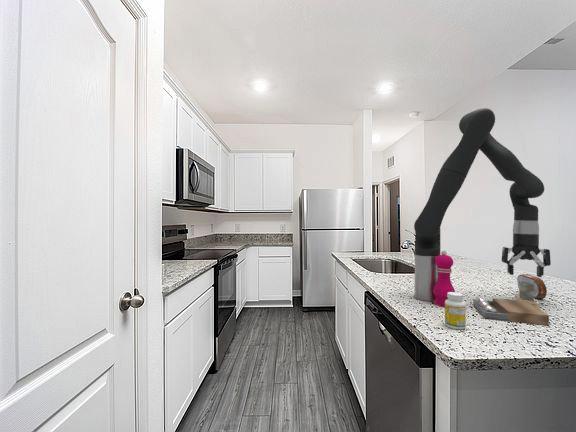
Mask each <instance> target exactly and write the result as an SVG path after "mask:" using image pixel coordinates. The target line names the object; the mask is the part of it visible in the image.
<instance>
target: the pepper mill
mask: <svg viewBox="0 0 576 432" xmlns="http://www.w3.org/2000/svg"><path fill="white" fill-rule="evenodd" d="M435 264H436V265H437V268H436V269H437V270H436V271H437V272H438V280H437V282H436V284H435V286H434V289H433V294H434V295H435V296H436V298H435V301H434V305H436V306H438V307H439V306H440V307H442V308H445V301H446V300H447V299H448V297H447V293H448V292H456V290H455V287H454V285H453V283H452V280H451V273H453V272H452V269H453V268H452V266H454V259H453V257H451V256H450V255H448V254H447V251H446V250H441V251H440V255H438V256H437V257H436V258H435Z"/></svg>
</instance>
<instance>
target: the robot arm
mask: <svg viewBox="0 0 576 432" xmlns="http://www.w3.org/2000/svg"><path fill="white" fill-rule="evenodd" d="M495 122H496V115H495V113H494V111H493V110H492V109H490V108H488V107H485V108H484V107H483V108H479V109H475V110H473V111H471V112H468V113H466V114H465V115H463V116H462V117H461V119H460V120H459V122H458V128H459V131H460V132H461V134H462V136H461V138H460V140H459V143H458V145H457V146H456V147H455V148H454V149H453V150H452V152H451V153H450V155H449V156H448V157H447V158H446V159H445V161H444V162H443V164H442V165H441V168H440V170H438V171H439V172H438V173H437V176H436V178H435V180H434V183H433V186H432V188H431V191H430V194H429V197H428V199H427V202H426V204H425V206H424V207H423V209H422V210H421V212H420V214H419V216H417V218H416V220H415V221H414V224H413V225H414V226H413V227H414V231H415V233H414V236H415V239H414V240H415V242H414V299H415V300H421V301H428V302H435V298H436V296H435V295H434V294H433V289H434V286H435V284H436V282H437V280H438V272H437V271H436V270H437V269H436V268H437V265H436V264H435V258H436V257H437V256H438V255H441V226H442V223H443V219H444V217H445V215H446V212H447V210H448V209H449V207H450V205H451V204H452V202H453V201H454V199H455V197H456V196H457V195H458V193H459V191H460V189H461V188H462V187H463V184H464V182H465V180H466V178H467V177H468V173H469V172H470V169H471V167H472V165H473V164H474V161H475V159H476V157H477V155H478V153H479V151H480V152H481V153H483V154H484V156H486V158H487V159H488V160H489V161H490V162H491V164H492V165H493V166H494V168H495V169H496V170H497V171H498V173H499V175H500V176H501V177H502V178H503V179H504V180H505V181H509V182H513V183H512V184H511V185H510V188H509V191H508V192H509V197H510V200H511V204H512V208H513V225H512V247H506V246H503V247H502V252H501V262H502V263H504V264H506V265H507V266H506V267H507V273H508V274H509V275H510V276H514V271H515V270H514V269H515V267H514V264H516V262H518V261H519V260H521V261H522V260H524V261H525V260H528V261H533V262H534V263H535V264H536V265H537V266H536V277H538V278H542V277H543V276H544V273H545V272H544V271H545V270H544V269H545V267H547V266H551V265H552V264H551V250H550V249H548V248H542V249H541V248H539V246H540V243H539V242H540V226H539V225H540V224H539V207H538V206H537V205H534V204H531V203H530V200H529V199H536V198H539V197H541V196H542V195H543V194H544V192H545V185H544V183H543V181H542V180H541V179H540V177H538V176H537V175H535V174H534V173H533V172H532V171H530V170H529V169H527V168H526V167H525V166H524V165H523V164H522V163H521V161H520V160H519V158H518V157H517V156H516V155H515V154H514V153H513V152H512V151H511V150H510V149H508V148H507V147H506V146H505V145H503V144H502V143H500V142H499V141H498V140H497V139H495V138H494V137H493V135H492V134H491V131H492V129H493V128H494V126H495ZM511 252H512V254H513V255H512V256H511V257H510V258H509V254H510V253H511ZM539 254H541V255H542V260H541V259H540V257H539V256H538V255H539Z"/></svg>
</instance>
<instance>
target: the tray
mask: <svg viewBox="0 0 576 432" xmlns="http://www.w3.org/2000/svg"><path fill="white" fill-rule="evenodd" d="M476 299H477V298H476ZM476 299H475V298H473V299H472V305H473V306H474V307H475V308H476V309H477V311H478V312H479V313H480V314H481V316H482V317H483V318H484V319H485V320H486V319H487V320H496V321H504V322H509V321H508V314H503V313H500V312H498V313H494V312H488V311H486V310H484V309H483V307H482V306H481V305H479V303H478V302H477V301H476ZM485 300H486V299H485ZM486 301H487V302H489V303H490V305H491V306H492V307H494V306H493V300H486ZM494 308H495V307H494ZM495 309H496V308H495ZM496 310H497V309H496Z"/></svg>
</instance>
